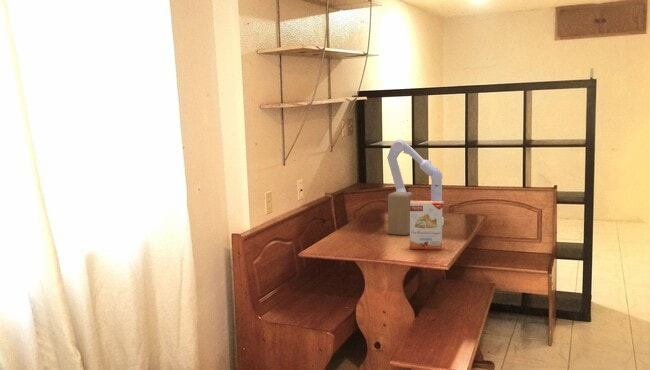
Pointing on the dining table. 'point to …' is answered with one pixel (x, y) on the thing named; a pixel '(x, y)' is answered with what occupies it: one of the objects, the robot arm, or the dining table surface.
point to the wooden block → (399, 213)
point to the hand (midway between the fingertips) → (436, 218)
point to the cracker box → (426, 225)
